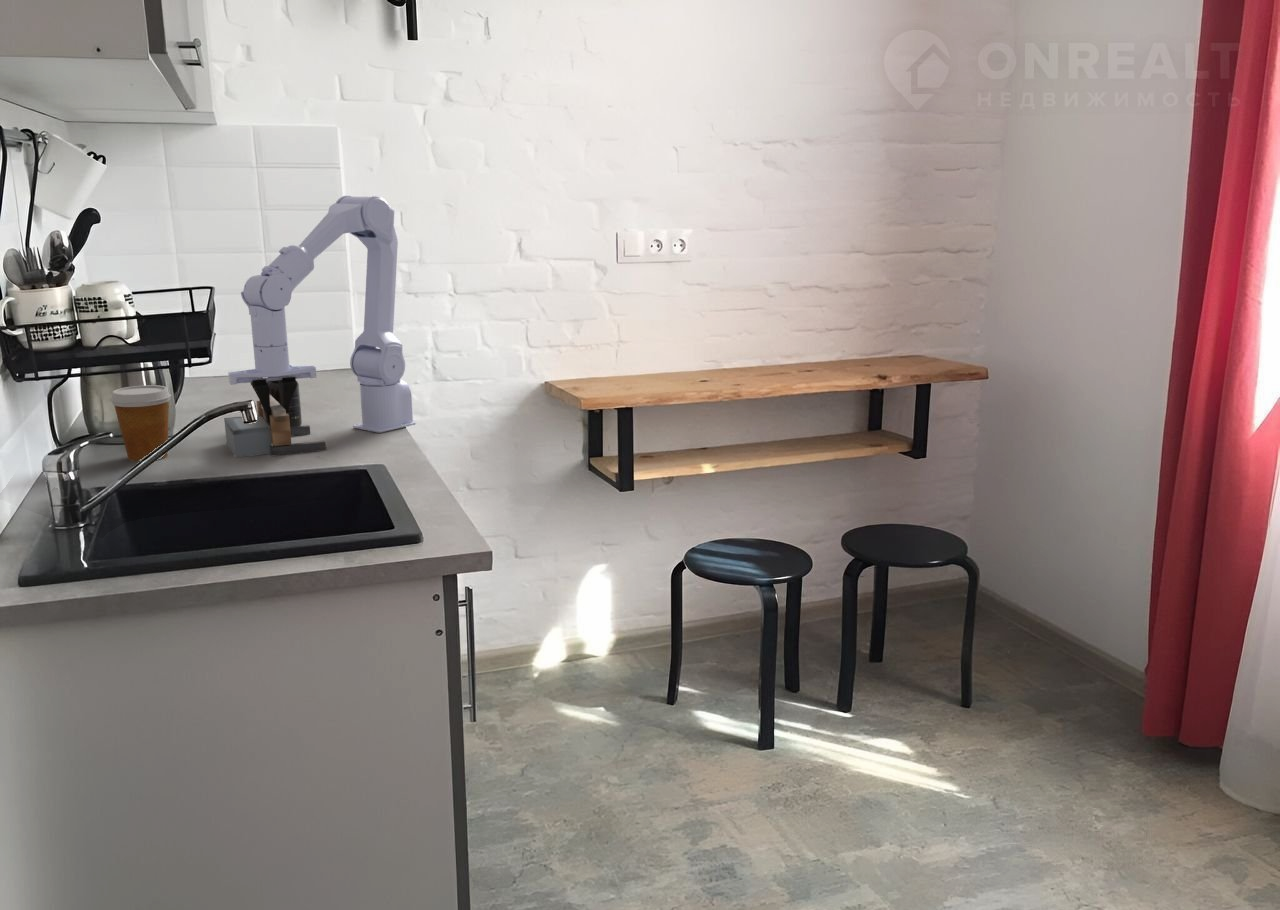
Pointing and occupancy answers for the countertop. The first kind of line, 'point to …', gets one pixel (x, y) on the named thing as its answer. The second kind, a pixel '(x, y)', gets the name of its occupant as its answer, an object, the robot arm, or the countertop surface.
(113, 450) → the countertop surface
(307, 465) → the countertop surface
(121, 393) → the disposable coffee cup
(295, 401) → the supplement bottle
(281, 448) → the rail frame
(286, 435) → the tan piece
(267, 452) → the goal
